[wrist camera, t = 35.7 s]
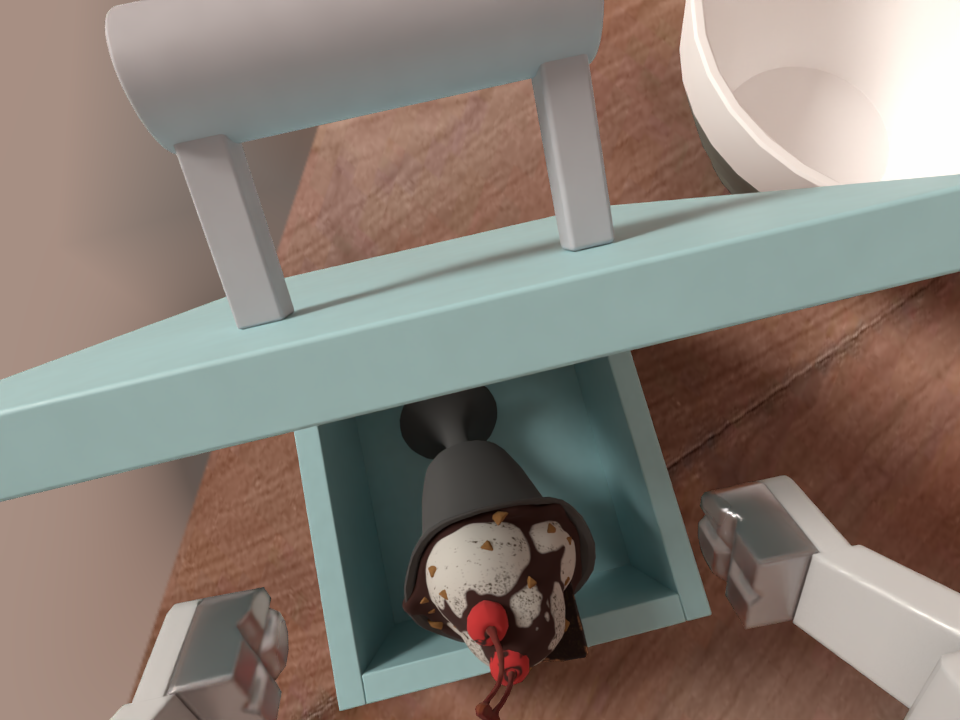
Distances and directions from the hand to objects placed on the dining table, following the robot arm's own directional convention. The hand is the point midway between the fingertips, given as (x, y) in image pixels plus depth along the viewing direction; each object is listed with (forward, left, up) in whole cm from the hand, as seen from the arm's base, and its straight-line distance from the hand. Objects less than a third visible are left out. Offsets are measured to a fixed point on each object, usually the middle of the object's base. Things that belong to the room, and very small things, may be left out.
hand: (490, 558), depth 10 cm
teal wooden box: (0, +3, -19) cm, 19 cm away
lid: (0, +6, -3) cm, 7 cm away
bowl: (+23, +16, -19) cm, 34 cm away
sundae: (-1, +5, -16) cm, 17 cm away
